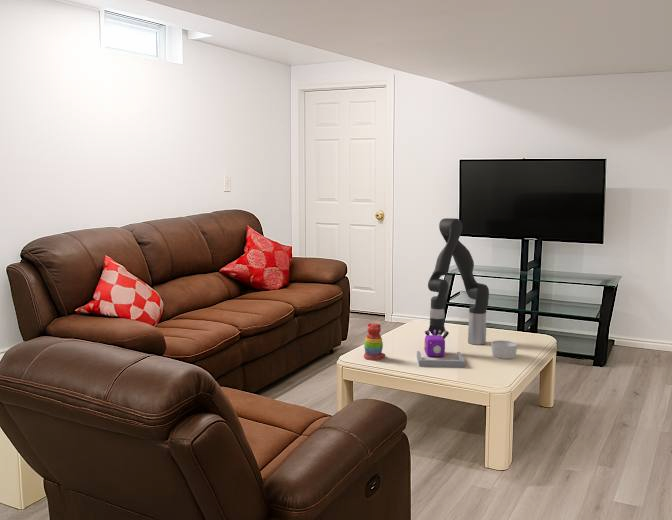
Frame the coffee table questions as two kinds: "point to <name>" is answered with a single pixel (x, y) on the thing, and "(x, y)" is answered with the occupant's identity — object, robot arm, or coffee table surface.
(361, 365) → the coffee table surface
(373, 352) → the stacking bear
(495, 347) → the ramekin
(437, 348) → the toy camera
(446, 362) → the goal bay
